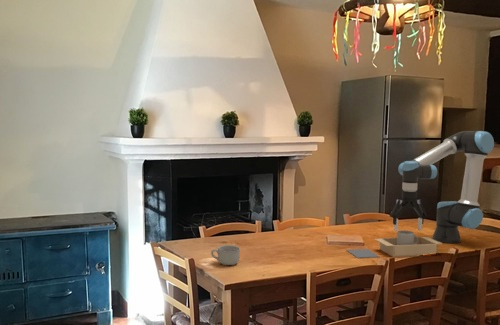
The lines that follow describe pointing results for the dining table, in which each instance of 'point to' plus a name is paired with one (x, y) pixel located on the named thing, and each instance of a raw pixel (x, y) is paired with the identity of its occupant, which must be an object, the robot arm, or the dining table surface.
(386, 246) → the beige tray
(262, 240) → the dining table surface
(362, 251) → the coaster mat
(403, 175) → the robot arm
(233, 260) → the teacup
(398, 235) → the mug
